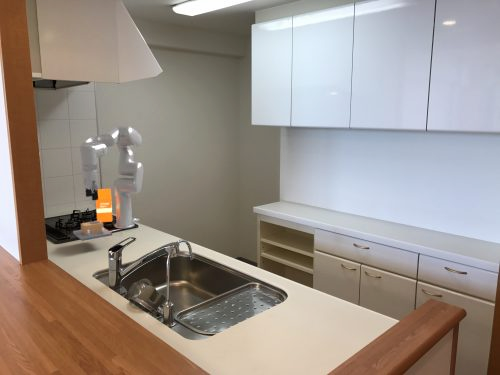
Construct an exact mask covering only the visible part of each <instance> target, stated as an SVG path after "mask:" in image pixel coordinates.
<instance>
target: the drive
mask: <svg viewBox="0 0 500 375" xmlns="http://www.w3.org/2000/svg"><path fill="white" fill-rule="evenodd" d="M103 227H104V222H101V221H97V220H95V221H89V222H83V223H80V230H81V232H82V233H83V234H84V235H87V230H89V234H94V233H100V232H101V228H103Z"/></svg>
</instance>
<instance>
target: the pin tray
mask: <svg viewBox="0 0 500 375" xmlns="http://www.w3.org/2000/svg"><path fill="white" fill-rule="evenodd" d="M72 233H73V235H74V236H76V237H77V238H78V239H79V240H80V241H82V242H83V241H84V242H85V241H91V240H95V239H99V238H105V237H111V236H113V232H111V231H110V230H108V229H107V228H105V227H104V226H103V228H101V232H100V233H94V234H89V230H87V235H84V234H83V233H82V232H81V229H78V230H73V231H72Z"/></svg>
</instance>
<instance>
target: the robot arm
mask: <svg viewBox="0 0 500 375" xmlns="http://www.w3.org/2000/svg"><path fill="white" fill-rule="evenodd" d="M142 142H143V138H142V135H141V133H139V132H138V131H137V130H136V129H134V128H133V127H131V126H129V125H114V126H112V127H110V128H109V129H108V130H106V131H105V132H104V133H101V134H97V135H95V136H91V137H89V138H87V139H86V140H84V141H83V142H82V143H81V145H80V146H79V147H80V148H79V151H80V154H81V157H80V158H81V167H82V168H81V169H82V178H83V179H82V183H83V187H84V189H85V196H86V198H87V197H91V201H96V200H98V189H99V181H98V174H97V171H98V161H97V157H99V158H100V157H103V156H106V155H107V153H108V149H109V148H111V147H113V146H114V145H116V147H117V149H118V152H119V158H118V165H117V173H118V175H120V176H122V177H117V178H115V179H114V181H113V184H112V187H113V191H114V197H115V198H114V200H115V214H116V215H115V217H116V219H115V220H116V223H114V225H113V227H115V228H116V229H122V230H123V229H129V228H130V229H131V228H133V227H134V226H135V223H136V222H140V218H134V217H133V216H132V213H133V212H132V198H131V195H130V194H138V193H141V191H142V188H143V187H142V186H143V180H144V179H143V178H144V172H145V171H144V165H143V163H142V162H140V161H134V152H133V150H132V149H131V147H132V148H134V147H135V148H137V147H140V146H142ZM123 176H124V177H123ZM132 177H133V178H132Z"/></svg>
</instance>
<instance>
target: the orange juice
mask: <svg viewBox="0 0 500 375" xmlns="http://www.w3.org/2000/svg"><path fill="white" fill-rule="evenodd" d="M111 190H112V189H111V188H101V189H99V188H98V200H95V203H96V204H95V205H96V221H101V222H102V223H106V222H107V223H108V222H113V206H112V204H113V203H112V191H111Z"/></svg>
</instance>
